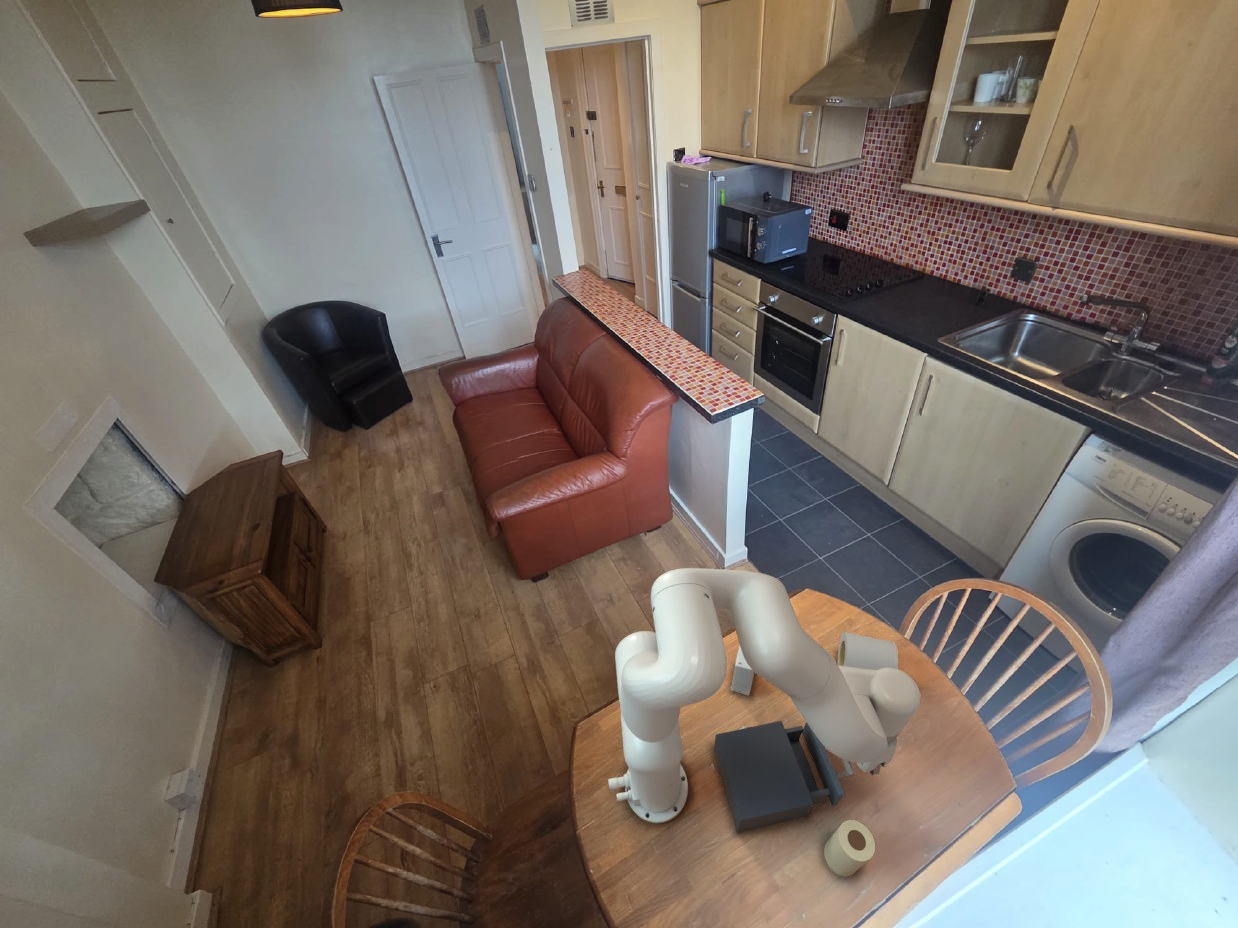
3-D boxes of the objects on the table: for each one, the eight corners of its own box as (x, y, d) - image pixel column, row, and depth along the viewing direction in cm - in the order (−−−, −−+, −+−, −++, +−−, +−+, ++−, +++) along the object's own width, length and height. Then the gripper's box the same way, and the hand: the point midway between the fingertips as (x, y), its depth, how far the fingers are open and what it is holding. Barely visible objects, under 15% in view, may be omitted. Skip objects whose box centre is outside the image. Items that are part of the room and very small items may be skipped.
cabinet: (775, 736, 108) (781, 720, 102) (806, 817, 97) (814, 803, 91) (713, 749, 107) (715, 734, 101) (736, 832, 96) (740, 820, 90)
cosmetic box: (749, 696, 114) (755, 671, 106) (730, 690, 115) (734, 665, 107) (754, 671, 118) (759, 645, 110) (735, 666, 119) (739, 640, 111)
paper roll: (833, 879, 90) (848, 864, 81) (818, 841, 94) (832, 823, 85) (863, 872, 90) (882, 856, 82) (847, 834, 94) (864, 816, 86)
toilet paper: (838, 685, 114) (847, 664, 107) (837, 645, 121) (846, 623, 114) (887, 697, 112) (900, 676, 105) (883, 655, 118) (895, 633, 112)
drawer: (826, 727, 107) (832, 714, 103) (858, 800, 97) (867, 789, 93) (749, 743, 106) (752, 731, 101) (774, 819, 96) (779, 808, 92)
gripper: (835, 680, 93) (817, 720, 106) (879, 769, 82) (853, 802, 95) (874, 672, 94) (851, 713, 106) (923, 760, 83) (891, 794, 95)
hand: (852, 755), depth 100 cm, fingers closed
